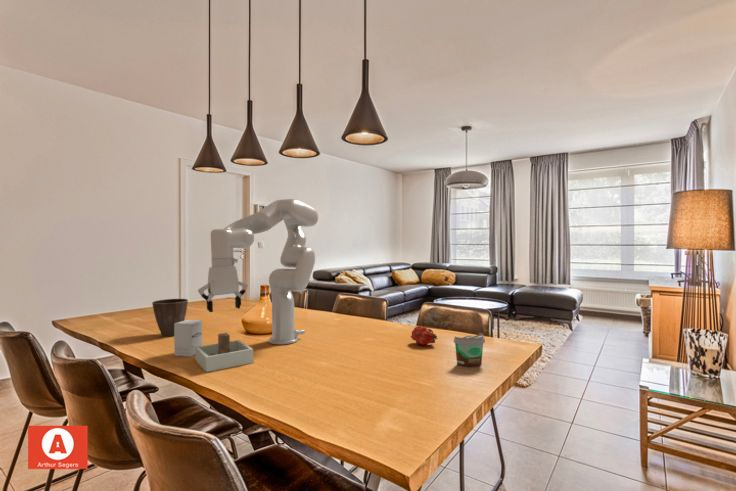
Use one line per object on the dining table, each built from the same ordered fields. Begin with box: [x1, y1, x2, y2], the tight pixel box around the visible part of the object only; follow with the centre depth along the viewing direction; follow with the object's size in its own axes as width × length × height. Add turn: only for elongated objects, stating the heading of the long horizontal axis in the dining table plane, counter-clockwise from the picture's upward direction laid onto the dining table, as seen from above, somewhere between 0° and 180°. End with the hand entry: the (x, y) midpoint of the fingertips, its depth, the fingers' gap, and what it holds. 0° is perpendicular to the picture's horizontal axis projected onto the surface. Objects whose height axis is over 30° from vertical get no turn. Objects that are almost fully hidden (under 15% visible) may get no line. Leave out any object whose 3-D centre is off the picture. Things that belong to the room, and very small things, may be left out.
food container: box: [453, 332, 486, 368], centre depth 133 cm, size 12×6×10 cm, turn 117°
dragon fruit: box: [410, 325, 438, 347], centre depth 160 cm, size 8×8×12 cm
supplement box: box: [173, 319, 203, 358], centre depth 150 cm, size 7×7×13 cm
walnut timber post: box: [217, 332, 231, 354], centre depth 139 cm, size 3×4×9 cm
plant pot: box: [151, 298, 189, 337], centre depth 180 cm, size 15×15×16 cm
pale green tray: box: [194, 339, 254, 373], centre depth 140 cm, size 16×16×5 cm
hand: (224, 309), depth 140 cm, fingers open, 9 cm apart
